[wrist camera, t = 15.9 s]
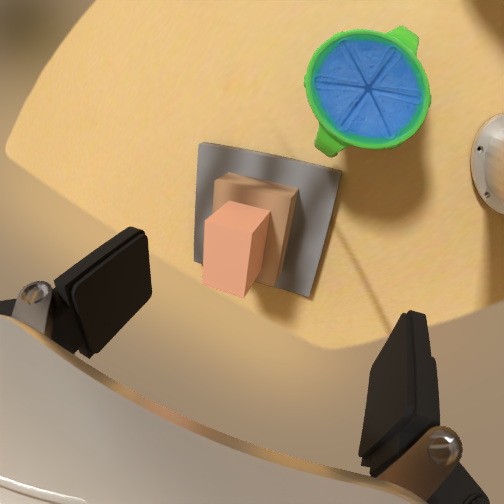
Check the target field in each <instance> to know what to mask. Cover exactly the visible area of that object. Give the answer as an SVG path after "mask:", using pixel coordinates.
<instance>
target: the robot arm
mask: <svg viewBox="0 0 504 504" xmlns="http://www.w3.org/2000/svg"><path fill="white" fill-rule="evenodd" d="M478 146H479V147H480V149H479V150H477V148H478ZM471 172H472V178H473V181H474V184H475V187H476V189H477V191H478V193H479V195H480V196H481V197H482V199H483V200H484V201H485V202H486V203H487V204H488V205H489V206H490V207H491V208H492V209H493V210H495V211H496V212H499V213H501V214H503V215H504V114H499V115H496V116H494V117H492V118H490V119H489V120H488V121H487V122H486V123H484V125H483V126H482V127H481V128H480V130H479V131H478V133H477V135H476V137H475V140H474V143H473V146H472V152H471ZM485 192H486V194H485ZM54 283H55V286H56V287H55V288H54V289H52V287H51V285H50V284H49V283H48V282H45V281H35V282H32V283H29V284H28V285H26V286H25V287H23V288H22V289H21V291H20V292H19V294H18V297H17V299H11V300H5V301H0V504H490V502H489V499H488V497H487V496H486V494H485V493H484V492H483V490H482V489H481V488H480V487H479V485H478V484H477V483H476V482H475V481H474V480H473V478H472V477H471V476H470V475H469V473H468V472H467V471H466V470H465V468H464V467H463V466H462V465H461V464H460V462H459V461H460V459H461V457H462V452H463V449H462V442H461V440H460V437H459V436H458V435H457V433H456V432H455V431H453V430H452V429H451V428H449V427H446V426H440V410H439V391H438V379H437V370H436V369H437V368H436V361H435V359H434V357H431V349H430V341H429V333H428V326H427V320H426V315H425V314H422V313H419V312H415V311H412V310H409V311H408V312H407V314H406V313H402V315H401V316H400V318H399V320H398V322H397V324H396V325H395V327H394V329H393V331H392V333H391V334H390V336H389V338H388V340H387V342H386V343H385V345H384V347H383V348H382V350H381V352H380V354H379V355H378V357H377V358H376V360H375V362H374V363H373V365H372V368H371V371H370V377H369V386H368V394H367V403H366V409H365V417H364V423H363V429H362V436H361V441H360V447H359V454H358V455H359V457H362V462H361V466H366V467H370V475H371V476H366V475H362V474H358V473H354V472H350V471H346V470H342V469H337V468H332V467H329V466H325V465H320V464H317V463H313V462H309V461H305V460H302V459H298V458H295V457H291V456H288V455H285V454H281V453H278V452H275V451H272V450H269V449H266V448H263V447H259V446H257V445H254V444H251V443H247V442H245V441H242V440H240V439H237V438H234V437H232V436H229V435H226V434H224V433H221V432H219V431H216V430H214V429H212V428H209V427H206V426H204V425H202V424H200V423H197V422H195V421H193V420H190V419H188V418H186V417H184V416H182V415H180V414H177V413H175V412H173V411H171V410H169V409H167V408H165V407H163V406H161V405H159V404H157V403H155V402H153V401H151V400H149V399H147V398H145V397H143V396H141V395H139V394H138V393H136V392H134V391H132V390H130V389H128V388H127V387H125V386H123V385H122V384H120V383H118V382H116V381H115V380H113V379H111V378H109V377H108V376H106V375H104V374H103V373H101V372H99V371H98V370H96V369H95V368H93V367H92V366H90V365H88V364H87V363H85V362H84V361H82V360H81V359H79V358H78V357H76V356H75V352H76V351H77V350H79V352H80V353H81V354H83V355H84V356H86V357H88V358H89V359H90V358H91V356H93V354H94V353H99V352H100V351H101V350H102V349H103V347H104V346H105V345H106V344H107V343H108V342H109V341H110V340H111V339H112V338H113V337H114V336H115V335H116V334H117V332H118V331H119V330H120V329H121V328H122V327H123V326H124V325H125V324H126V323H127V322H128V321H129V320H130V319H131V318H132V317H133V316H134V315H135V313H137V312H138V310H139V309H140V308H141V307H142V306H143V305H144V304H145V303H146V302H147V301H148V300H149V299H150V297H151V295H152V285H151V274H150V264H149V250H148V238H147V236H146V235H145V232H144V231H143V230H140V229H137V228H134V227H128V228H126V229H125V230H123V231H122V232H120V233H119V234H117V235H116V236H114V237H113V238H112V239H110V240H109V241H107V242H106V243H104V244H103V245H101V246H100V247H99V248H97V249H96V250H94V251H93V252H91V253H90V254H89V255H87V256H86V257H85V258H83V259H82V260H80V261H79V262H78V263H76V264H75V265H74V266H72V267H71V268H70V269H68V270H67V271H66V272H64V273H63V274H62V275H60V276H59V277H58V278H56V279H55V280H54Z"/></svg>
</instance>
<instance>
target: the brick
mask: <svg viewBox="0 0 504 504" xmlns="http://www.w3.org/2000/svg"><path fill="white" fill-rule="evenodd" d="M269 217H270V211H269V210H265V209H261V208H257V207H253V206H249V205H245V204H241V203H237V202H233V201H228V202H227V203H225V204H224V205H223V206H222V207H221V208H219V209H218V210H217V211H216V212H214V213H213V214H212V215H211V216H210V217H208V218H207V219H206V220H205V226H204V251H203V285H206V286H208V287H211V288H214V289H217V290H220V291H223V292H226V293H229V294H232V295H235V296H238V297H241V298H244V297H245V296H246V294H247V292H248V291H249V289H250V287H251V286H252V284H253V282H254V281H255V279H256V278H257V276H258V274H259V273H260V271H261V268H262V262H263V256H264V249H265V243H266V237H267V230H268V224H269Z"/></svg>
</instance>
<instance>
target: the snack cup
mask: <svg viewBox="0 0 504 504" xmlns="http://www.w3.org/2000/svg"><path fill="white" fill-rule="evenodd" d="M418 43H419V37H418V36H417V35H416V34H414V33H412V32H411V31H409V30H408V29H407V28H406V27H404V26H399V27H397V28H395V29H393V30H392V31H390V32H388V33H380V32H377V31H373V30H364V29H357V30H350V31H346V32H343V31H342V32H340V33H337V34H335V35H333V37H331V38H330V39H328V40H327V41H326V42H324V43H323V44H322V45H321V46H320V47H319V48H318V49H317V50H316V52H315V53H314V55H313V56H312V58H311V60H310V63H309V65H308V69H307V73H306V75H305V77H304V86H305V88H306V93H307V98H308V102H309V104H310V107H311V109H312V111H313V113H314V114H315V116H316V118H317V119H318V120H319V130H318V133H317V137H316V139H315V141H314V145H315V147H316V148H317V149H318V150H320V151H321V152H323V153H324V154H325V155H327V156H328V157H335V156H337V154H338V152H339V151H341V150H343V149H344V148H346V147H348V146H356V147H359V148H364V149H385V148H388V149H392V148H395V147H398V146H400V145H401V143H402V142H404V141H406V140H407V139H409V138H410V137H411V136H413V135H414V134H415V133H416V132H417V131H418V129H419V128H420V127H421V125H422V124H423V122H424V120H425V118H426V115H427V112H428V109H429V107H430V104H431V95H430V88H429V83H428V79H427V76H426V73H425V71H424V69H423V67H422V65H421V63H420V62H419V60H418V59H417V57H416V54H417V53H416V52H417V47H418Z"/></svg>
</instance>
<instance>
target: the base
mask: <svg viewBox="0 0 504 504" xmlns="http://www.w3.org/2000/svg"><path fill="white" fill-rule="evenodd" d="M341 173H342V171H340V170H337V169H333V168H329V167H325V166H321V165H317V164H313V163H309V162H304V161H300V160H296V159H291V158H287V157H282V156H278V155H273V154H268V153H263V152H258V151H253V150H248V149H242V148H237V147H231V146H225V145H219V144H213V143H207V142H203V143H200V144H199V148H198V164H197V182H196V203H195V231H194V261H195V262H198V263H201V264H203V251H204V226H205V220H206V219H207V218H208V217H210V216H211V215H212V214H213V213H214V212H216V211H217V210H218V209H219V208H221V207H222V206H223V205H224V204H225V203H227V202H228V201H233V202H237V203H241V204H245V205H249V206H253V207H257V208H261V209H265V210H269V211H270V217H269V224H268V230H267V237H266V243H265V249H264V256H263V262H262V268H261V271H260V273H259V274H258V276H257V278H256V279H255V282H258V283H262V284H265V285H268V286H271V287H277V288H280V289H283V290H287V291H290V292H293V293H297V294H300V295H303V296H307V297H309V295H310V292H311V288H312V285H313V281H314V278H315V274H316V271H317V267H318V264H319V260H320V257H321V253H322V249H323V246H324V242H325V238H326V234H327V230H328V226H329V223H330V219H331V215H332V211H333V207H334V202H335V198H336V194H337V190H338V186H339V181H340V177H341Z"/></svg>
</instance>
